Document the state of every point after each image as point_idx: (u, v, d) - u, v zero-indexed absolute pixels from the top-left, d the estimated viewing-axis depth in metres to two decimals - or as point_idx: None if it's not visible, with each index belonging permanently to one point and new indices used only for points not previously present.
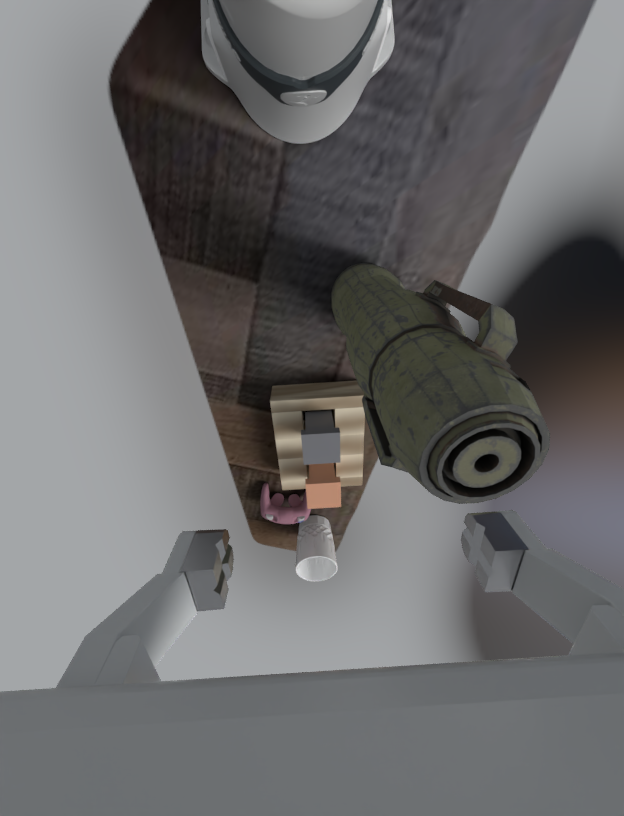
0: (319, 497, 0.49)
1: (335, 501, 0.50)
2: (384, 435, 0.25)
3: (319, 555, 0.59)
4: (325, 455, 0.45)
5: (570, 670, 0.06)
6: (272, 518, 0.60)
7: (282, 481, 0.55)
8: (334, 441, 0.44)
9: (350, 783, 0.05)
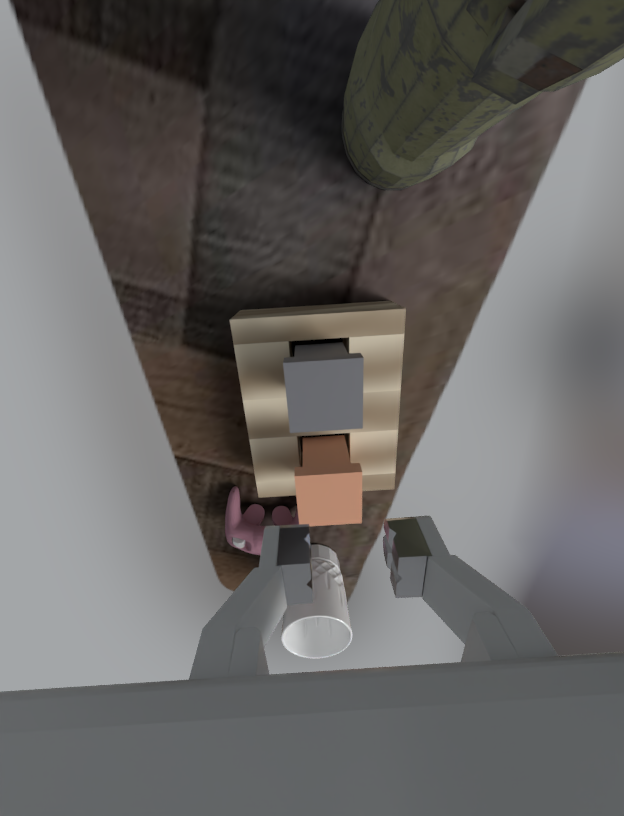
0: (321, 503, 0.26)
1: (351, 512, 0.26)
2: None
3: (321, 614, 0.34)
4: (334, 411, 0.22)
5: (569, 670, 0.06)
6: (243, 545, 0.36)
7: (258, 481, 0.32)
8: (351, 379, 0.21)
9: (350, 784, 0.05)
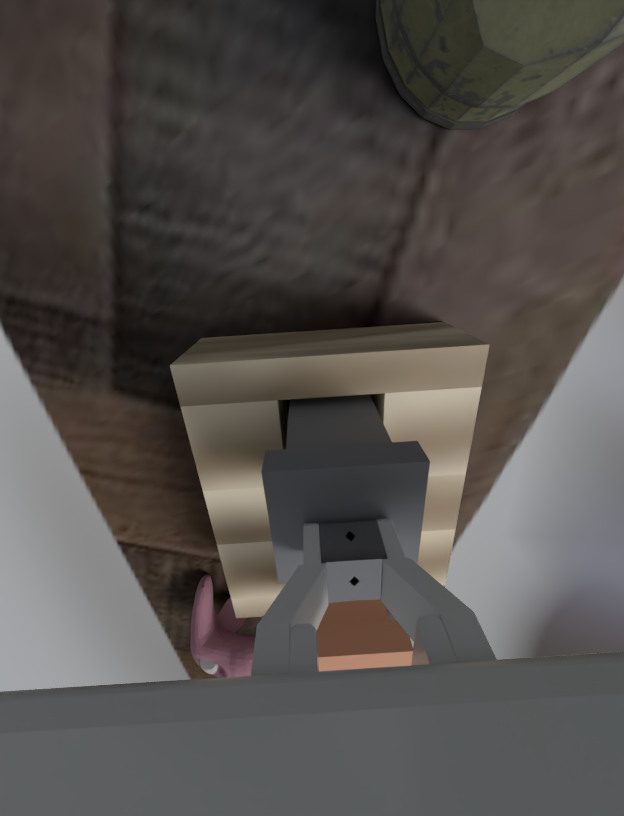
0: None
1: None
2: None
3: None
4: None
5: (570, 670, 0.06)
6: (216, 669, 0.25)
7: (234, 598, 0.21)
8: (402, 498, 0.11)
9: (350, 783, 0.05)
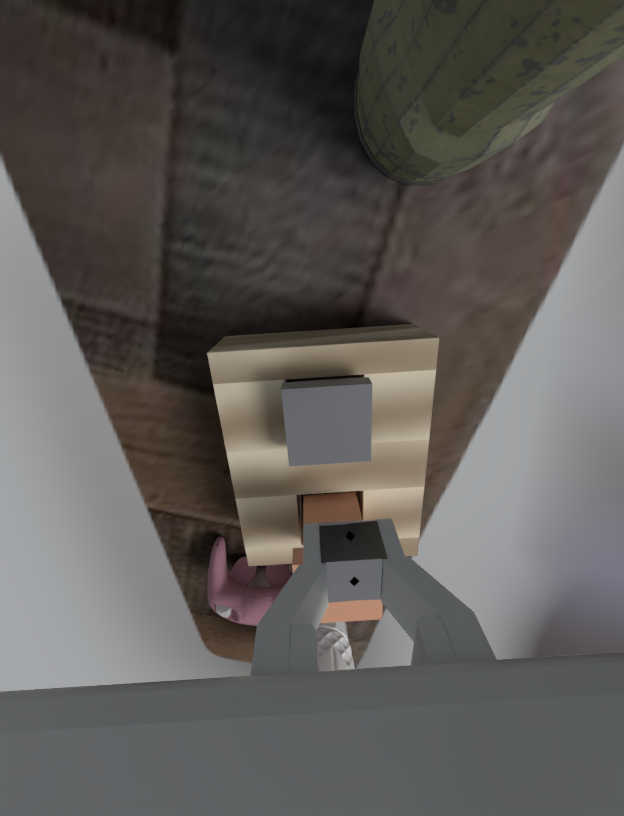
0: None
1: (368, 606, 0.20)
2: None
3: None
4: (339, 442, 0.20)
5: (569, 670, 0.06)
6: (229, 613, 0.29)
7: (247, 547, 0.26)
8: (358, 407, 0.19)
9: (350, 783, 0.05)
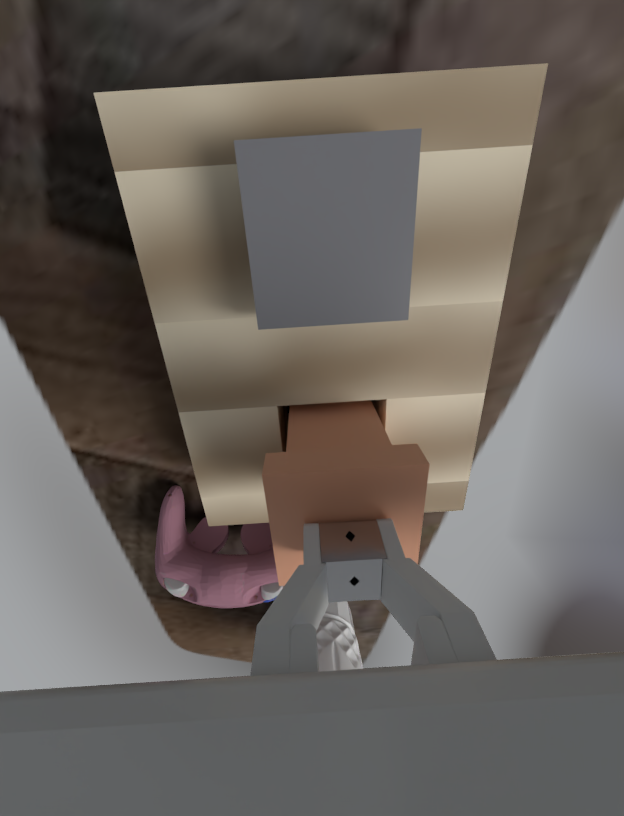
0: None
1: None
2: None
3: None
4: (350, 276, 0.10)
5: (570, 670, 0.06)
6: (185, 591, 0.20)
7: (204, 496, 0.17)
8: (391, 191, 0.10)
9: (350, 783, 0.05)
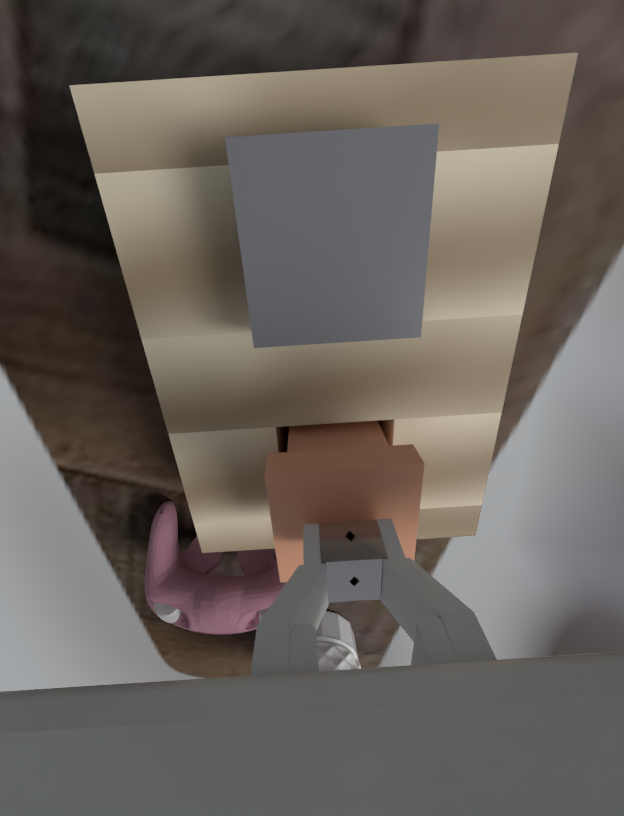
0: None
1: None
2: None
3: None
4: (357, 290, 0.09)
5: (569, 669, 0.06)
6: (177, 616, 0.19)
7: (197, 522, 0.16)
8: (403, 195, 0.08)
9: (349, 782, 0.05)
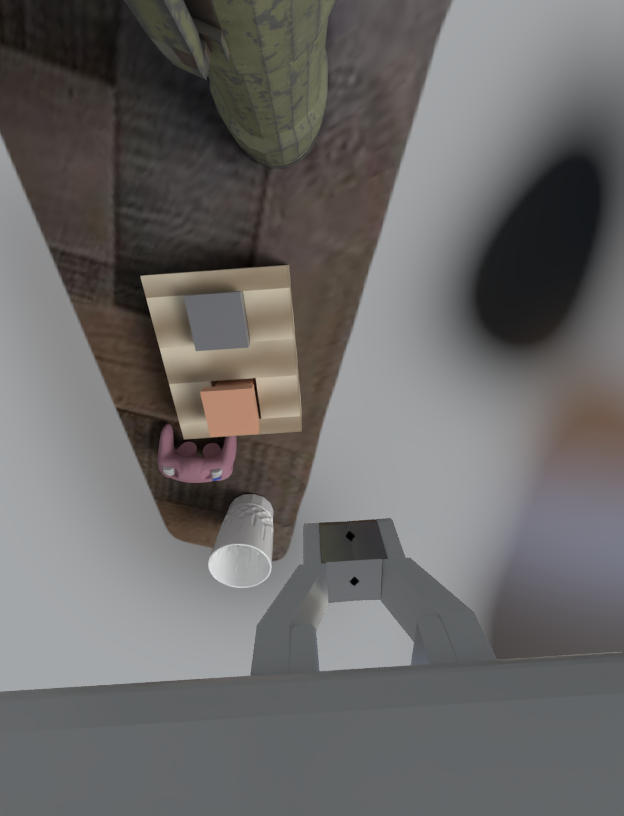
0: (224, 416, 0.33)
1: (249, 423, 0.34)
2: None
3: (241, 542, 0.39)
4: (225, 333, 0.31)
5: (570, 670, 0.06)
6: (173, 473, 0.40)
7: (181, 423, 0.37)
8: (234, 308, 0.30)
9: (350, 783, 0.05)
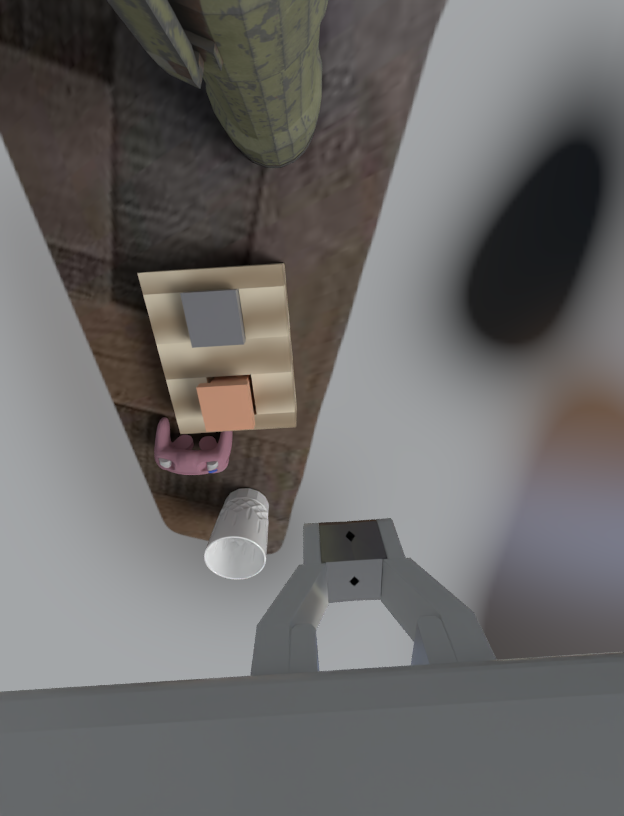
0: (220, 411, 0.34)
1: (244, 419, 0.35)
2: None
3: (236, 535, 0.40)
4: (221, 330, 0.32)
5: (569, 670, 0.06)
6: (169, 465, 0.41)
7: (178, 418, 0.38)
8: (229, 306, 0.31)
9: (350, 783, 0.05)
